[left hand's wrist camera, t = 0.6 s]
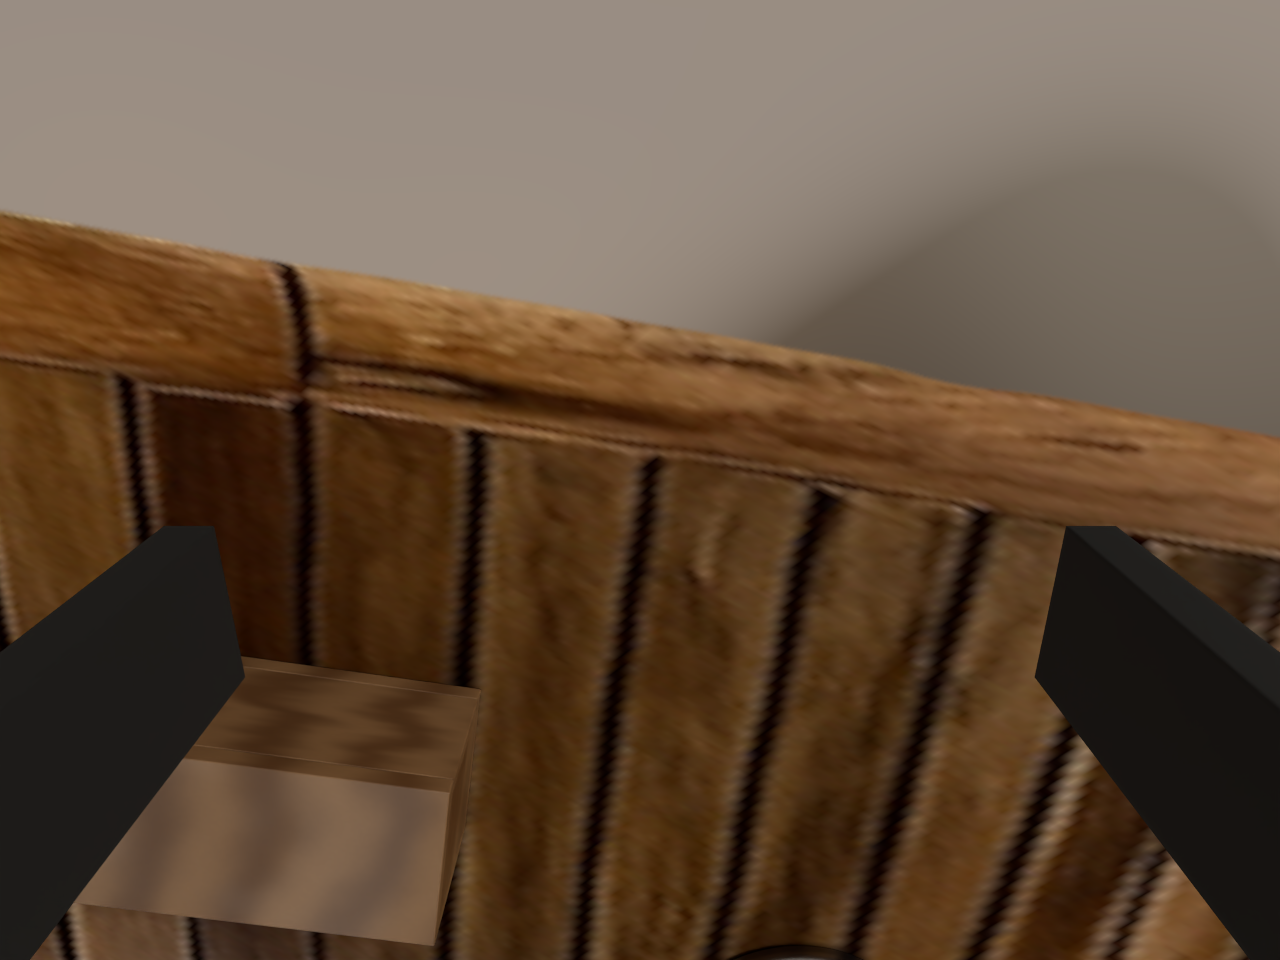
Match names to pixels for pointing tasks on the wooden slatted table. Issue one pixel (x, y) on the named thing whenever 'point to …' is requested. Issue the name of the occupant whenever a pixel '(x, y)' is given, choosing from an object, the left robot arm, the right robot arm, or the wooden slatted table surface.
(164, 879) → the cabinet
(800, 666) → the wooden slatted table surface
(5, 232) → the wooden slatted table surface
